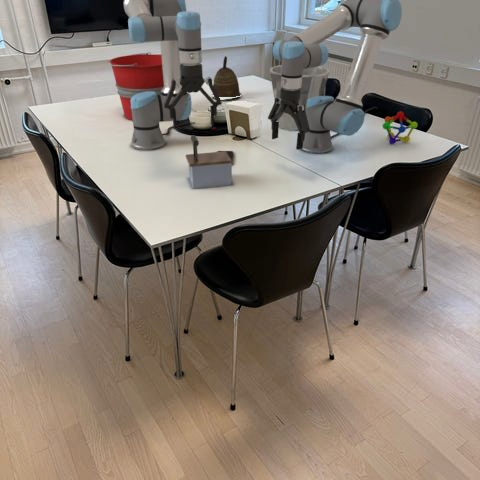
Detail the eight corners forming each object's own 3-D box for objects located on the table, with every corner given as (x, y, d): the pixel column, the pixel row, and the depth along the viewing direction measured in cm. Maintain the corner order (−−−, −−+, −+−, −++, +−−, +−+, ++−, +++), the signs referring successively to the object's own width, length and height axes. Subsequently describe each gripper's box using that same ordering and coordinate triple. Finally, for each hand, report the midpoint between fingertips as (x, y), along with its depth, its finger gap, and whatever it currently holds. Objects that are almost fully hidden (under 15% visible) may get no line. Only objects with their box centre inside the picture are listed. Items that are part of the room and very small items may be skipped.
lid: (189, 166, 162) (188, 142, 157) (185, 157, 170) (184, 134, 165) (231, 162, 165) (231, 139, 160) (225, 153, 173) (225, 130, 169)
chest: (193, 188, 167) (192, 166, 162) (189, 178, 175) (188, 156, 170) (231, 184, 170) (231, 163, 165) (226, 174, 178) (225, 153, 173)
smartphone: (215, 163, 186) (217, 150, 198) (215, 165, 186) (217, 152, 199) (232, 163, 186) (233, 150, 198) (232, 165, 186) (233, 152, 199)
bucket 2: (296, 138, 215) (301, 78, 201) (255, 124, 234) (256, 68, 219) (335, 125, 232) (342, 70, 217) (294, 113, 251) (297, 61, 236)
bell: (227, 105, 294) (202, 96, 282) (238, 66, 289) (213, 55, 277) (243, 108, 280) (217, 98, 268) (255, 66, 275) (229, 55, 263)
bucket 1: (123, 105, 263) (116, 51, 247) (182, 106, 262) (179, 52, 247) (107, 123, 234) (97, 63, 218) (173, 124, 233) (168, 64, 217)
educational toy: (377, 146, 209) (379, 114, 202) (384, 138, 219) (386, 107, 211) (411, 149, 202) (415, 116, 195) (417, 141, 212) (420, 109, 204)
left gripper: (154, 67, 143) (160, 131, 154) (229, 64, 148) (230, 126, 159) (152, 63, 149) (158, 125, 160) (224, 60, 154) (225, 120, 165)
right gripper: (260, 82, 167) (258, 136, 179) (308, 98, 151) (303, 155, 163) (274, 79, 171) (272, 132, 183) (323, 94, 155) (317, 150, 167)
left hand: (194, 126), depth 159 cm, fingers open, 13 cm apart
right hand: (286, 143), depth 173 cm, fingers open, 13 cm apart
